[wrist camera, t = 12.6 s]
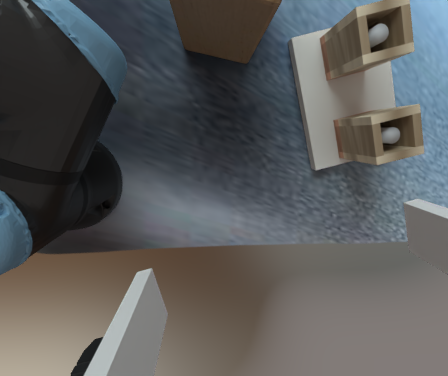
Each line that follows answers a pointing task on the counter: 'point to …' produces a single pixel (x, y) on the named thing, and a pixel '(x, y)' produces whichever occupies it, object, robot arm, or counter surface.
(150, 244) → the counter surface
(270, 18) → the wooden block
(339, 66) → the sleeve seated
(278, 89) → the counter surface
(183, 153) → the counter surface
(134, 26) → the counter surface
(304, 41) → the pin board
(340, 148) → the sleeve
